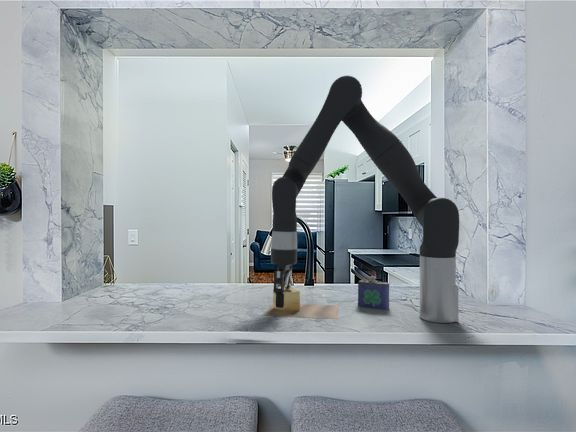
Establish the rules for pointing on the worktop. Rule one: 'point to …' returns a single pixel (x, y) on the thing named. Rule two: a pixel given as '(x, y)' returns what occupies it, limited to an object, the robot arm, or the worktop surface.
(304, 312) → the bolt base
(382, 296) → the clover print carton
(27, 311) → the worktop surface
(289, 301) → the cap
